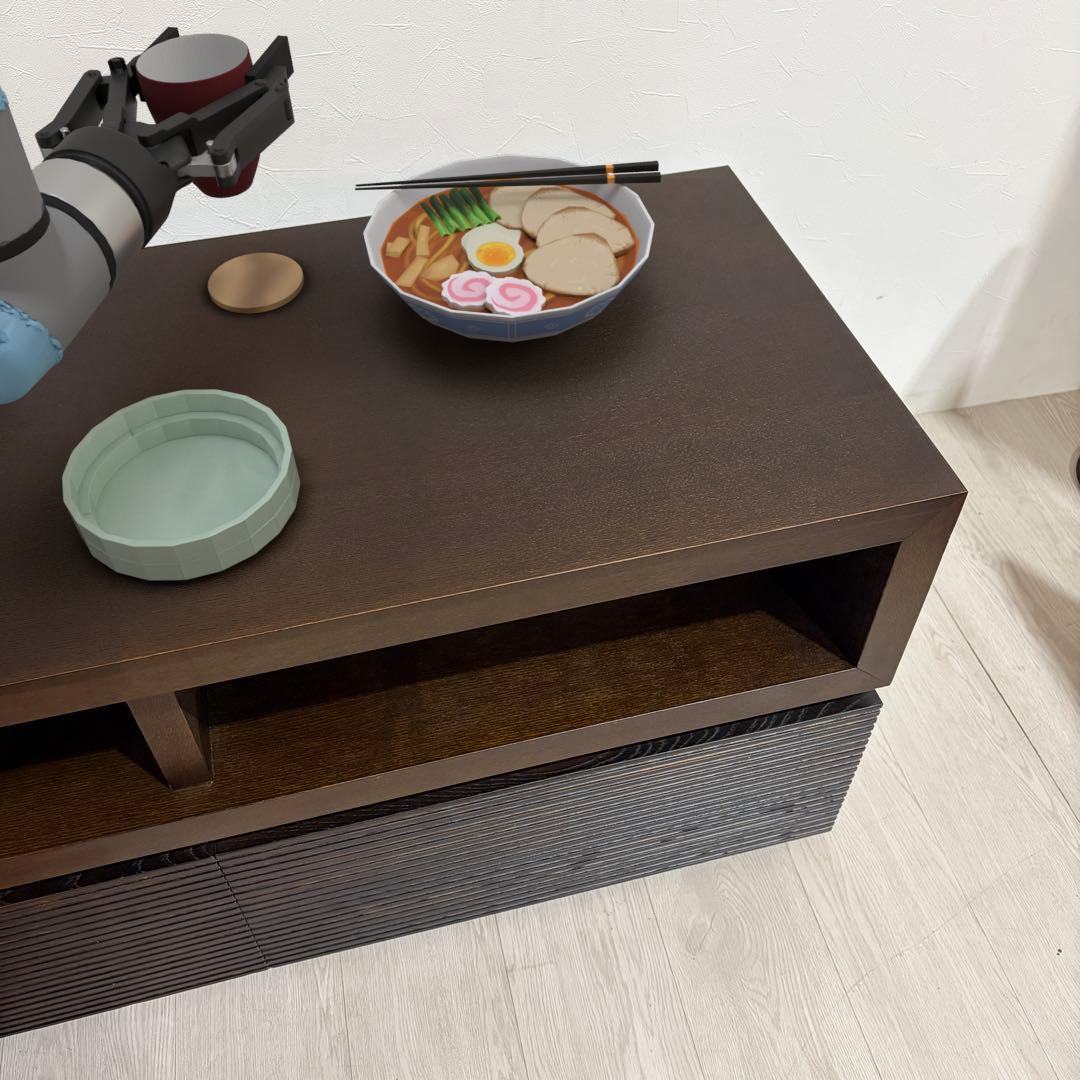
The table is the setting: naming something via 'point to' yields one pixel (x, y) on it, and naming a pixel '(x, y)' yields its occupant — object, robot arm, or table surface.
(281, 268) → the coaster
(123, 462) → the serving bowl
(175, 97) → the mug
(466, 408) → the table surface
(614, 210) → the ramen bowl
